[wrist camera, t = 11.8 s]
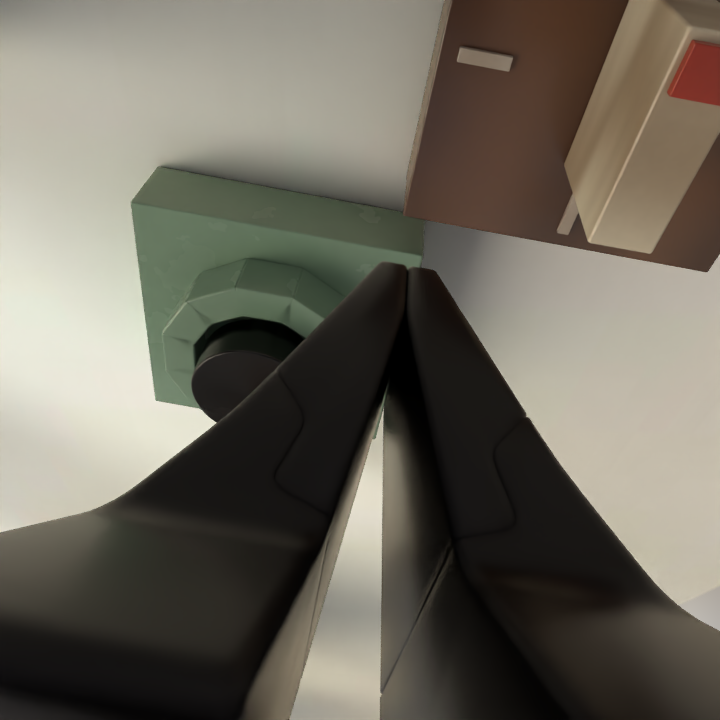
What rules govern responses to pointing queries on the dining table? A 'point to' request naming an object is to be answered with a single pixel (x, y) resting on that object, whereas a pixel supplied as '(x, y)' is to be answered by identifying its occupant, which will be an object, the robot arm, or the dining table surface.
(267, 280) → the button box
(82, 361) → the dining table surface
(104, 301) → the dining table surface
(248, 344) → the button
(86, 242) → the dining table surface
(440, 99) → the dial panel
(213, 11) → the dining table surface
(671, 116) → the beige long block
